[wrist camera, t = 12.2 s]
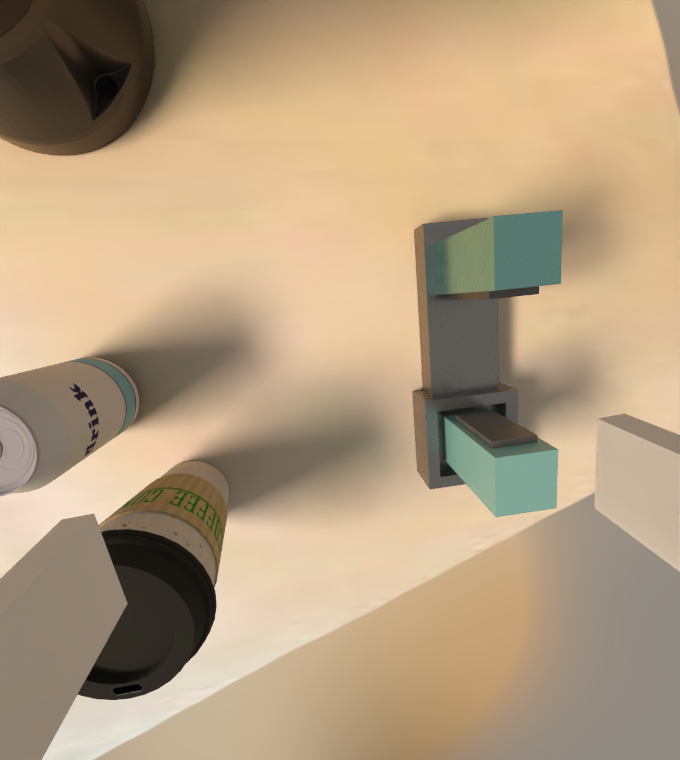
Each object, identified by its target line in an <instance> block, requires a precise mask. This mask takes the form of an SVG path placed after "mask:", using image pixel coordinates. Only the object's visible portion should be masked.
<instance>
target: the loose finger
mask: <svg viewBox="0 0 680 760" xmlns="http://www.w3.org/2000/svg"><path fill="white" fill-rule="evenodd" d="M443 427H444V450H445V461H446V462H447V463H448V464H449V465H450V466H451V468H452V469H453V470H454V471H455V472H456V473H457V474H458V475H459V476H460V478H461V479H462V480H463V481H464V482H465V483H466V484H467V485H468V487H469V488H470V489H471V490H472V491H473V492H474V493H475V494H476V495H477V497H478V498H479V499H480V500H481V501H482V502H483V503H484V504H485V506H486V507H487V508H488V509H489V510H490V511H491V512H492V513H493V514H494V516H495V517H500V516H507V515H514V514H520V513H527V512H534V511H540V510H547V509H554V508H556V504H557V469H558V449H556V448H555V447H553V446H551V445H549V444H548V443H546V442H544V441H542V440H541V439H539V438H537V435H536V434H534V433H532V432H530V431H528V430H527V429H525V428H523V427H521V426H520V425H518V424H516V423H514V422H513V421H511V420H509V419H507V418H506V417H504V416H502V415H500V414H498V413H497V412H495V411H493V410H491V411H490V410H484V411H476V412H468V413H461V414H453V415H445V416H443Z"/></svg>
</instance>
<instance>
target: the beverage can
mask: <svg viewBox="0 0 680 760" xmlns="http://www.w3.org/2000/svg"><path fill="white" fill-rule="evenodd" d="M138 409H139V394H138V390H137V388H136V385H135V383H134V382H133V380H132V378H131V377H130V376H129V375H128V374H127V373H126V372H125V371H124V370H123V369H122V368H121V367H119V366H118V365H116V364H114V363H112V362H110V361H108V360H105V359H101V358H93V357H87V358H80V359H76V360H72V361H68V362H63V363H59V364H55V365H51V366H47V367H43V368H39V369H34V370H30V371H26V372H22V373H18V374H14V375H10V376H5V377H1V378H0V496H4V495H7V494H10V493H23V492H29V491H32V490H36V489H38V488H41V487H43V486H45V485H47V484H49V483H50V482H52V481H53V480H55V479H56V478H57V477H59V476H60V475H62V474H63V473H65V472H66V471H67V470H69V469H70V468H72V467H73V466H75V465H76V464H77V463H79V462H80V461H82V460H83V459H85V458H86V457H87V456H89V455H90V454H92V453H93V452H95V451H96V450H97V449H99V448H100V447H102V446H103V445H105V444H106V443H107V442H109V441H110V440H112V439H113V438H115V437H116V436H117V435H119V434H120V433H122V432H123V431H125V430H126V429H127V428H128V427H129V426H130V425H131V424H132V423H133V421H134V420H135V418H136V416H137V413H138Z"/></svg>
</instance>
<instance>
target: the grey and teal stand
mask: <svg viewBox="0 0 680 760" xmlns="http://www.w3.org/2000/svg"><path fill="white" fill-rule="evenodd" d="M562 211H563V210H559V211H548V212H537V213H526V214H515V215H504V216H493V217H491V218H483V219H472V220H461V221H450V222H439V223H428V224H422V225H421V226H419V227H418V228H416V229H415V230H414V236H415V254H416V272H417V290H418V308H419V326H420V345H421V363H422V381H423V390H420V391H412V392H413V408H414V424H415V441H416V457H417V471H418V473H419V474H420V476H421V477H422V479H423V480H424V482H425V483H426V484H427V486H428V487H429V489H435V488H442V487H449V486H456V485H463V484H466V483H465V482H464V481H463V480H462V479H461V478H460V476H459V475H458V474H457V473H456V472H455V471H454V470H453V469H452V468H451V466H450V465H449V464H448V463H447V462H446V461H445V450H444V427H443V416H445V415H453V414H461V413H468V412H476V411H484V410H490V411H491V410H493V411H495V412H497V413H498V414H500V415H502V416H504V417H506V418H507V419H509V420H511V421H513V422H514V423H516V424H517V390H516V389H514V388H511V387H509V386H506V385H504V384H502V383H499V382H498V298H505V297H514V296H523V295H533V294H539V286H544V285H553V284H561V249H562Z"/></svg>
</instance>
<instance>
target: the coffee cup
mask: <svg viewBox="0 0 680 760" xmlns="http://www.w3.org/2000/svg"><path fill="white" fill-rule="evenodd" d="M228 500H229V485H228V482H227V480H226V478H225V476H224V475H223V474H222V472H221V471H220V470H218V469H217V468H216V467H214V466H213V465H211V464H209V463H205V462H202V461H187V462H182V463H180V464H178V465H176V466H174V467H173V468H171V469H170V470H169V471H168V472H166V473H165V474H164V475H163V476H162V477H160V478H158V479H156V480H155V481H153V482H152V483H150V484H149V485H148V486H147V487H145V488H144V489H143V490H142V491H140V492H139V493H138V494H137V495H135V496H134V497H133V498H132V499H131V500H129V501H128V502H127V503H126V504H124V505H123V506H122V507H121V508H119V509H118V510H117V511H116V512H114V513H113V514H112V515H111V516H110V517H108V518H107V519H106V520H105V521H103V522H102V523H101V524H100V525H98V526H99V528H100V531H101V534H102V536H103V539H104V542H105V544H106V547H107V550H108V553H109V555H110V558H111V561H112V563H113V566H114V569H115V571H116V574H117V577H118V579H119V582H120V585H121V587H122V590H123V593H124V595H125V598H126V601H127V603H128V604H127V606H126V607H125V609H124V611H123V613H122V615H121V616H120V618H119V620H118V622H117V624H116V625H115V627H114V629H113V631H112V633H111V635H110V636H109V638H108V640H107V642H106V644H105V645H104V647H103V649H102V651H101V653H100V654H99V656H98V658H97V660H96V662H95V664H94V665H93V667H92V669H91V671H90V673H89V674H88V676H87V678H86V680H85V682H84V683H83V685H82V687H81V689H80V691H79V693H78V695H81V696H85V697H90V698H95V699H106V700H118V699H128V698H133V697H137V696H141V695H145V694H147V693H149V692H152V691H154V690H156V689H158V688H160V687H161V686H163V685H165V684H166V683H168V682H169V681H171V680H172V679H173V678H174V677H175V676H176V675H177V674H178V673H179V672H180V671H181V669H182V668H183V667H184V665H185V664H186V663H187V662H188V661H189V660H190V659H191V658H192V657H193V656H194V655H195V654H196V653H197V652H198V650H199V649H200V647H201V646H202V644H203V643H204V641H205V640H206V638H207V636H208V634H209V632H210V630H211V627H212V625H213V622H214V620H215V613H216V594H215V590H214V587H215V584H216V582H217V575H218V569H219V563H220V557H221V551H222V545H223V538H224V532H225V526H226V519H227V505H228Z"/></svg>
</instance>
